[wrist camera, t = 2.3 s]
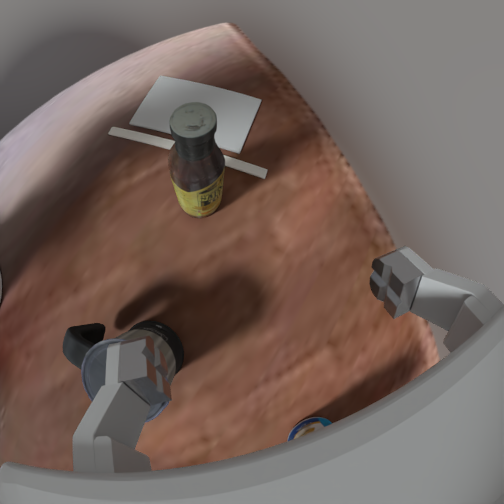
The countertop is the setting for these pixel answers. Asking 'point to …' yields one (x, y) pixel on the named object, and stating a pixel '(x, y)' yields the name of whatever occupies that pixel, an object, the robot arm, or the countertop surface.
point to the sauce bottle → (196, 159)
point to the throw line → (169, 143)
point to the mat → (220, 100)
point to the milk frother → (95, 350)
